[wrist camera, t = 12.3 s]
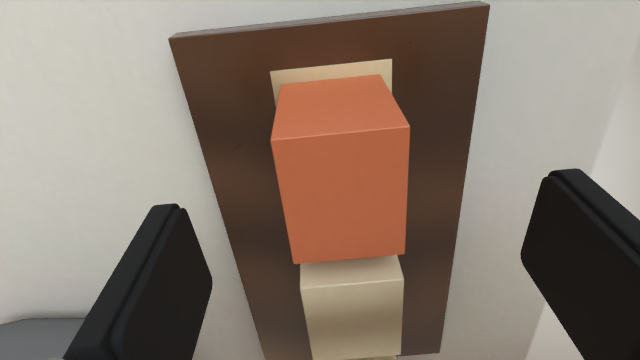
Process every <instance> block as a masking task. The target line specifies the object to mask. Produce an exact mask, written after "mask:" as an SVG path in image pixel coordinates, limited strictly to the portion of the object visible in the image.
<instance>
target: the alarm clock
mask: <svg viewBox="0 0 640 360" xmlns="http://www.w3.org/2000/svg"><path fill="white" fill-rule="evenodd" d="M84 320H85V319H25V320H20V321H15V322H11V323H6V324H2V325H0V360H43V359H46V358H63V356H64V354H65V353H66V351H67V349H68V348H69V346H70V344H71V342H72V341H73V339H74V337H75V336H76V334H77V332H78V330H79V329H80V327H81V325H82V324H83V322H84Z"/></svg>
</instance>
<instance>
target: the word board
mask: <svg viewBox="0 0 640 360" xmlns="http://www.w3.org/2000/svg"><path fill="white" fill-rule="evenodd" d="M489 9H490V4H487V3H484V2H481V1H473V2H464V3H455V4H445V5H436V6H426V7H417V8H408V9H398V10H389V11H379V12H370V13H361V14H351V15H342V16H332V17H323V18H314V19H304V20H295V21H285V22H276V23H267V24H257V25H248V26H238V27H229V28H220V29H210V30H201V31H191V32H182V33H176V34H174V35H173V36H171V37H170V38H168V40H169V43H170V47H171V50H172V53H173V57H174V60H175V63H176V66H177V70H178V73H179V76H180V80H181V83H182V86H183V89H184V93H185V96H186V99H187V103H188V106H189V109H190V112H191V116H192V119H193V122H194V125H195V129H196V132H197V135H198V139H199V142H200V145H201V148H202V152H203V155H204V158H205V162H206V165H207V168H208V171H209V175H210V178H211V181H212V185H213V188H214V191H215V194H216V198H217V201H218V204H219V208H220V211H221V214H222V217H223V221H224V224H225V227H226V231H227V234H228V237H229V240H230V244H231V247H232V250H233V254H234V257H235V260H236V263H237V267H238V270H239V273H240V277H241V280H242V283H243V286H244V290H245V293H246V296H247V299H248V303H249V306H250V309H251V313H252V316H253V319H254V322H255V326H256V329H257V332H258V336H259V339H260V342H261V345H262V349H263V352H264V355H265V359H266V360H313V358H312V352H311V347H310V341H309V336H308V330H307V325H306V319H305V314H304V308H303V303H302V298H301V292H300V264H294V263H293V259H292V254H291V248H290V243H289V238H288V232H287V227H286V222H285V216H284V211H283V206H282V200H281V195H280V190H279V184H278V179H277V174H276V168H275V163H274V158H273V152H272V147H271V142H270V139H271V134H272V129H273V124H274V118H275V113H276V108H277V103H278V97H279V92H280V87H281V84H289V83H299V82H308V81H318V80H328V79H337V78H347V77H357V76H367V75H376V74H380V75H381V76H382V78H383V80H384V82H385V83H386V85H387V87H388V89H389V90H390V92H391V94H392V96H393V97H394V99H395V101H396V102H397V104H398V106H399V108H400V109H401V111H402V113H403V115H404V116H405V118H406V120H407V122H408V123H409V125H410V144H409V167H408V190H407V213H406V236H405V254H401V255H397V256H398V260H399V263H400V267H401V270H402V274H403V277H404V294H403V316H402V337H401V354H400V355H396V356H408V355H420V354H432V353H440V347H441V340H442V333H443V326H444V319H445V312H446V306H447V299H448V292H449V285H450V278H451V271H452V264H453V257H454V250H455V244H456V237H457V230H458V223H459V216H460V209H461V202H462V195H463V188H464V181H465V175H466V168H467V161H468V154H469V147H470V140H471V133H472V126H473V119H474V113H475V106H476V99H477V92H478V85H479V78H480V71H481V64H482V57H483V51H484V44H485V37H486V30H487V23H488V16H489Z"/></svg>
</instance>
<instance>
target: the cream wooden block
mask: <svg viewBox="0 0 640 360" xmlns="http://www.w3.org/2000/svg"><path fill="white" fill-rule="evenodd" d="M300 292H301V298H302V303H303V308H304V314H305V319H306V325H307V330H308V336H309V341H310V347H311V352H312V358H313V360H344V359H357V358H369V357H381V356H393V355H400V354H401V337H402V316H403V294H404V277H403V274H402V270H401V267H400V263H399V260H398V256H397V255H390V256H379V257H368V258H357V259H346V260H334V261H323V262H312V263H301V264H300Z"/></svg>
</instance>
